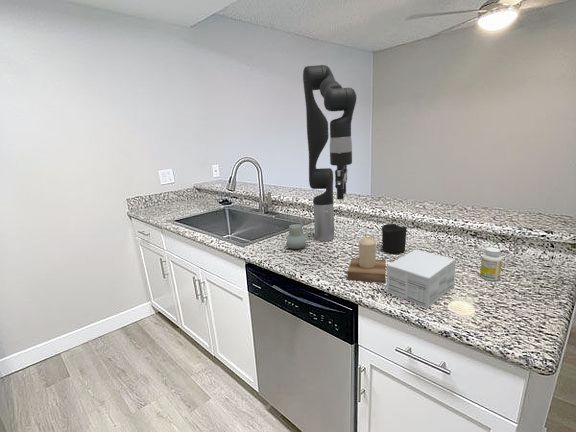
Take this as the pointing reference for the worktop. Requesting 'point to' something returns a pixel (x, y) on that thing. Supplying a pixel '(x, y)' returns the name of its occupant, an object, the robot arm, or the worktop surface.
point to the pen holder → (393, 238)
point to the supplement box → (421, 277)
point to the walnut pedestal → (367, 271)
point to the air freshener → (296, 237)
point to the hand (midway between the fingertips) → (341, 196)
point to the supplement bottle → (491, 264)
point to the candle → (367, 253)
